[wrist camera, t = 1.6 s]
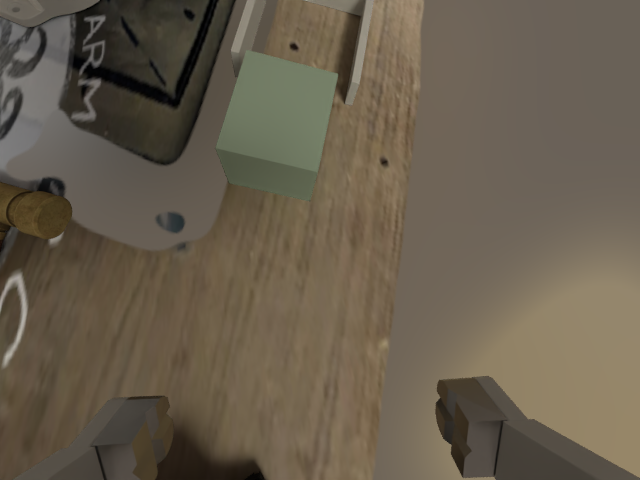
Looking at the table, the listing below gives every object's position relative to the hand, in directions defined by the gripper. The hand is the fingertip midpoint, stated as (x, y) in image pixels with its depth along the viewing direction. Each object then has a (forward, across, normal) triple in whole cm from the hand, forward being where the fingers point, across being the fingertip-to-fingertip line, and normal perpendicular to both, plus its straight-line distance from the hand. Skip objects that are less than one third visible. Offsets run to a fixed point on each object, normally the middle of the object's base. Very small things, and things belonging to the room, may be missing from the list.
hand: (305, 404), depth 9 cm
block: (+32, +3, -9) cm, 34 cm away
